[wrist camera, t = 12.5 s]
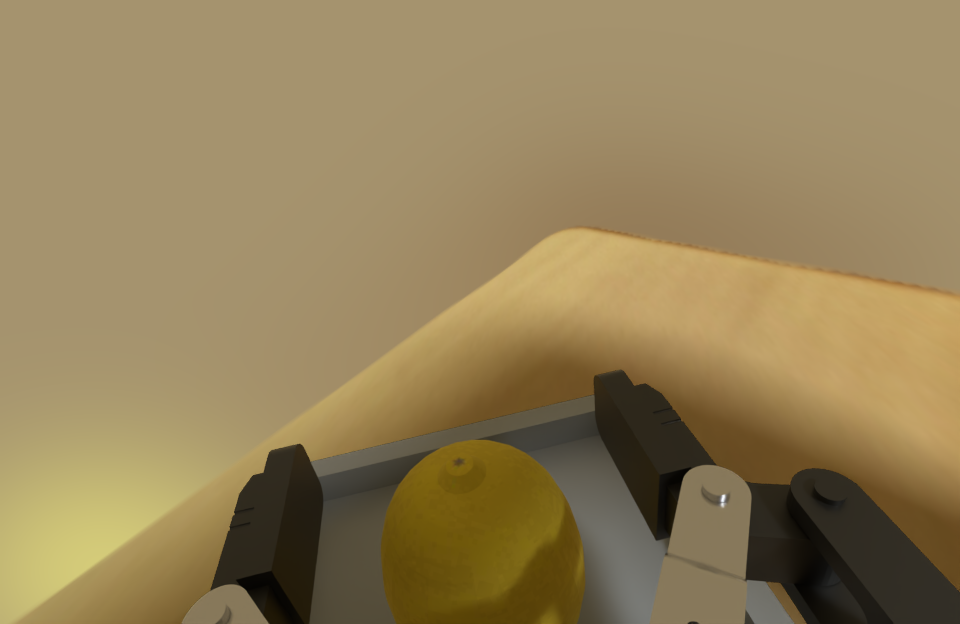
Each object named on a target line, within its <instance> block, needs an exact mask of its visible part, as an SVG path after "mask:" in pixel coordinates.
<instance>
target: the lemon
mask: <svg viewBox="0 0 960 624" xmlns="http://www.w3.org/2000/svg"><path fill="white" fill-rule="evenodd" d="M381 562H382V573H383V583H384V590H385V595H386V599H387V602H388V605H389V607H390V610H391V612H392V615H393V617H394V620H395V622H396V624H577V622H578V619H579V615H580V610H581V605H582V600H583V595H584V591H585V566H584V551H583V544H582V540H581V537H580V533H579V530H578V527H577V524H576V521H575V519H574V516H573V513H572V510H571V508H570V505H569V503H568V501H567V499H566V497H565V496H564V494H563V492H562V491H561V489H560V488H559V486H558V485H557V484H556V482H555V481H554V479H553V478H552V476H551V475H550V474H549V472H548V471H547V470H546V469H545V468H544V467H543V466H542V465H540V464H539V463H538V462H537V461H536V460H534V459H533V458H532V457H531V456H529V455H528V454H526V453H525V452H523V451H521V450H519V449H517V448H515V447H512V446H510V445H507V444H503V443H499V442H495V441H490V440H468V441H462V442H456V443H453V444H450V445H448V446H445V447H442V448H440V449H438V450H436V451H435V452H433V453H431V454H429V455H428V456H426V457H425V458H424V459H423V460H421V461H420V462H419V463H418V464H417V465H416V466H414V467H413V468H412V469H411V470H410V471H409V472H408V474H407V475H406V476H405V478H404V479H403V480H402V482H401V483H400V484H399V486H398V487H397V489H396V491H395V493H394V496H393V498H392V500H391V502H390V505H389V507H388V509H387V512H386V516H385V521H384V527H383V533H382V538H381Z"/></svg>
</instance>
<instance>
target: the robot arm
mask: <svg viewBox="0 0 960 624" xmlns="http://www.w3.org/2000/svg"><path fill="white" fill-rule="evenodd" d="M594 399H595V418H596V424H597V428H598V431H599V434H600V436H601V439H602V441H603V443H604V444H605V446H606V448H607V450H608V452H609V454H610V456H611V457H612V459H613V461H614V463H615V465H616V467H617V469H618V471H619V472H620V474H621V476H622V478H623V480H624V482H625V484H626V486H627V487H628V489H629V491H630V493H631V495H632V497H633V499H634V501H635V502H636V504H637V506H638V508H639V510H640V512H641V514H642V516H643V517H644V519H645V521H646V523H647V525H648V527H649V529H650V531H651V532H652V534H653V536H654V538H655V540H656V541H658V540H662V539H666V538H670V542H669V547H668V551H667V553H665V556H664V559H663V563H662V568H661V572H660V577H659V581H658V586H657V591H656V595H655V600H654V605H653V609H652V614H651V619H650V623H649V624H744V623H745V610H746V596H747V580H753V581H765V582H778V583H781V584H782V586H783V587H784V589H785V590H786V592H787V593H788V595H789V596H790V598H791V600H792V601H793V603H794V604H795V606H796V607H797V609H798V610H799V612H800V613H801V615H802V617H803V618H804V620H805V621H806V623H807V624H960V592H959V591H958V590H957V589H956V588H955V587H954V586H953V585H952V584H951V583H950V582H949V581H948V579H947V578H946V577H945V576H944V575H943V574H942V573H941V572H940V571H939V570H938V569H937V568H936V567H935V566H934V565H933V564H932V563H931V562H930V561H929V559H928V558H927V557H926V556H925V555H924V554H923V553H922V552H921V551H920V550H919V549H918V548H917V547H916V546H915V545H914V544H913V543H912V542H911V540H910V539H909V538H908V537H907V536H906V535H905V534H904V533H903V532H902V531H901V530H900V529H899V528H898V527H897V526H896V525H895V524H894V523H893V522H892V520H891V519H890V518H889V517H888V516H887V515H886V514H885V513H884V512H883V511H882V510H881V509H880V508H879V507H878V506H877V505H876V504H875V503H874V501H873V500H872V499H871V498H870V497H869V496H868V495H867V494H866V493H865V492H864V491H863V490H862V489H861V488H860V487H859V486H858V485H857V484H856V483H854V482H853V481H852V480H850V479H848V478H847V477H845V476H843V475H841V474H839V473H836V472H833V471H830V470H825V469H815V468H812V469H806V470H802V471H800V472H798V473H797V474H796V475H794V477H793V478H792V481H791V484H790V485H778V484H757V483H750V482H745V481H744V480H743V479H742V478H741V477H740V476H738V475H737V474H736V473H734V472H732V471H731V470H728V469H726V468H723V467H720V466H717V465H716V464H715V463H714V462H713V460H712V459H711V458H710V456H709V455H708V454H707V452H706V451H705V450H704V448H703V447H702V446H701V444H700V443H699V442H698V441H697V439H696V438H695V437H694V435H693V434H692V433H691V431H690V430H689V429H688V427H687V426H686V425H685V423H684V422H682V421H681V418H680V417H679V416H678V414H677V413H676V412H675V410H673V409H672V406H671V405H670V404H669V403H668V401H667V400H666V399H665V397H664V396H663V395H662V394H661V393H660V392H658V391H657V390H655V389H654V388H652V387H650V386H649V385H647V384H646V383H645V384H640V385H636V386H634V385H633V383H632V382H631V381H630V379H629V378H628V376H627V375H626V373H625V372H624V371H623V370H617V371H612V372H608V373H604V374H599V375H596V376H595V377H594ZM234 513H235V515H234V516H233V517H232V521H231V524H230V531H228V534H227V537H226V541H225V544H224V547H223V551H222V554H221V557H220V561H219V564H218V567H217V570H216V574H215V577H214V580H213V584H212V587H211V590H210V592H208V593H207V594H205V595H204V596H202V597H201V598H200V599H199V600H198V601H197V602H196V603H195V604H194V605H193V606H192V607H191V608H190V610H189V611H188V612H187V614H186V616H185V617H184V619H183V621H182V623H181V624H309V622H310V613H311V605H312V596H313V588H314V580H315V571H316V563H317V555H318V546H319V538H320V530H321V521H322V513H323V492H322V487H321V484H320V481H319V479H318V477H317V474H316V472H315V470H314V468H313V466H312V464H311V462H310V460H309V457H308V455H307V453H306V451H305V449H304V447H303V446H302V445H301V444H296V445H292V446H288V447H284V448H279V449H275V450H271V451H270V452H269V454H268V458H267V461H266V465H265V469H264V473H260V474H256V475H253V476H252V477H251V478H250V480H249V481H248V483H247V484H246V485H245V487H244V488H243V490H242V491H241V492H240V494H239V497H238V501H237V504H236V507H235V511H234Z"/></svg>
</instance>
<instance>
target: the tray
mask: <svg viewBox="0 0 960 624" xmlns="http://www.w3.org/2000/svg"><path fill="white" fill-rule="evenodd" d="M468 440H490V441H495V442H499V443H503V444H507V445H510V446H512V447H515V448H517V449H519V450H521V451H523V452H525V453H526V454H528V455H529V456H531V457H532V458H533V459H534V460H536V461H537V462H538V463H539V464H540V465H542V466H543V467H544V468H545V469H546V470H547V471H548V472H549V474H550V475H551V476H552V478H553V479H554V481H555V482H556V484H557V485H558V486H559V488H560V489H561V491H562V492H563V494H564V496H565V497H566V499H567V501H568V503H569V505H570V508H571V510H572V513H573V516H574V519H575V521H576V524H577V527H578V530H579V533H580V537H581V540H582V544H583V551H584V566H585V591H584V595H583V600H582V605H581V610H580V615H579V619H578V622H577V624H649V623H650V619H651V614H652V609H653V605H654V600H655V595H656V591H657V586H658V581H659V577H660V572H661V568H662V563H663V559H664V556H665V553H667V551H668V547H669V542H670V538H666V539H662V540H658V541H656V540H655V538H654V536H653V534H652V532H651V531H650V529H649V527H648V525H647V523H646V521H645V519H644V517H643V516H642V514H641V512H640V510H639V508H638V506H637V504H636V502H635V501H634V499H633V497H632V495H631V493H630V491H629V489H628V487H627V486H626V484H625V482H624V480H623V478H622V476H621V474H620V472H619V471H618V469H617V467H616V465H615V463H614V461H613V459H612V457H611V456H610V454H609V452H608V450H607V448H606V446H605V444H604V443H603V441H602V439H601V436H600V434H599V431H598V428H597V424H596V418H595V399H594V395H590V396H586V397H582V398H578V399H573V400H569V401H565V402H561V403H557V404H552V405H548V406H544V407H540V408H535V409H531V410H527V411H523V412H519V413H514V414H510V415H506V416H502V417H498V418H493V419H489V420H485V421H481V422H476V423H472V424H468V425H464V426H460V427H455V428H451V429H447V430H443V431H439V432H434V433H430V434H426V435H422V436H417V437H413V438H409V439H405V440H401V441H396V442H392V443H388V444H384V445H379V446H375V447H371V448H367V449H363V450H358V451H354V452H350V453H346V454H342V455H337V456H333V457H329V458H325V459H320V460H316V461H312V462H311V464H312V466H313V468H314V470H315V472H316V474H317V477H318V479H319V481H320V484H321V487H322V492H323V513H322V521H321V530H320V538H319V546H318V555H317V563H316V571H315V580H314V588H313V596H312V605H311V613H310V622H309V624H396V622H395V620H394V617H393V615H392V612H391V610H390V607H389V605H388V602H387V599H386V595H385V590H384V583H383V573H382V562H381V538H382V533H383V527H384V521H385V516H386V512H387V509H388V507H389V505H390V502H391V500H392V498H393V496H394V493H395V491H396V489H397V487H398V486H399V484H400V483H401V482H402V480H403V479H404V478H405V476H406V475H407V474H408V472H409V471H410V470H411V469H412V468H413V467H414V466H416V465H417V464H418V463H419V462H420V461H421V460H423V459H424V458H425V457H426V456H428V455H429V454H431V453H433V452H435V451H436V450H438V449H440V448H442V447H445V446H448V445H450V444H453V443H456V442H462V441H468ZM744 624H794V622H793V621H792V619H791V618H790V616H789V615H788V613H787V612H786V611H785V609H784V608H783V606H782V605H781V603H780V602H779V600H778V599H777V598H776V596H775V595H774V593H773V592H772V590H771V589H770V587H769V586H768V585H767V583H766V582H765V581H753V580H747V596H746V610H745V623H744Z"/></svg>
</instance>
